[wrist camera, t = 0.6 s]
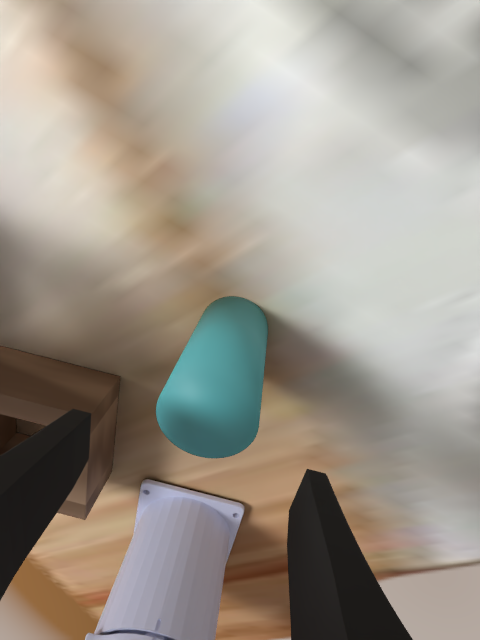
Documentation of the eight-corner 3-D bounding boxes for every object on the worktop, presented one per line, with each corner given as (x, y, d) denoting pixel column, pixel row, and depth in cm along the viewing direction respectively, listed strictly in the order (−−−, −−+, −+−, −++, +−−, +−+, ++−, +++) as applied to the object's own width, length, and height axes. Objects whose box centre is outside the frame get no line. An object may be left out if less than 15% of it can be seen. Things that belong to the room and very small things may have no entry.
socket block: (111, 471, 27) (85, 519, 23) (-2, 442, 27) (-46, 485, 23) (120, 376, 23) (89, 417, 19) (-12, 342, 23) (-67, 376, 20)
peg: (258, 364, 22) (245, 468, 14) (195, 348, 22) (150, 443, 14) (275, 306, 20) (271, 390, 13) (207, 288, 20) (162, 363, 13)
